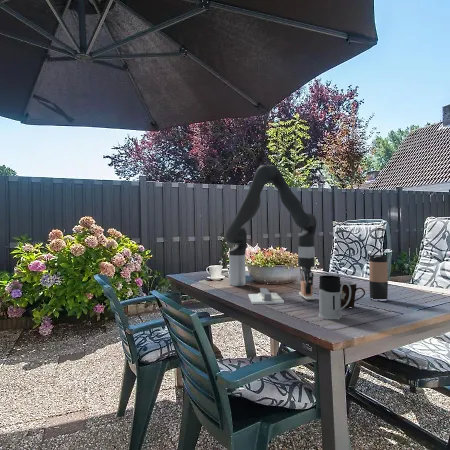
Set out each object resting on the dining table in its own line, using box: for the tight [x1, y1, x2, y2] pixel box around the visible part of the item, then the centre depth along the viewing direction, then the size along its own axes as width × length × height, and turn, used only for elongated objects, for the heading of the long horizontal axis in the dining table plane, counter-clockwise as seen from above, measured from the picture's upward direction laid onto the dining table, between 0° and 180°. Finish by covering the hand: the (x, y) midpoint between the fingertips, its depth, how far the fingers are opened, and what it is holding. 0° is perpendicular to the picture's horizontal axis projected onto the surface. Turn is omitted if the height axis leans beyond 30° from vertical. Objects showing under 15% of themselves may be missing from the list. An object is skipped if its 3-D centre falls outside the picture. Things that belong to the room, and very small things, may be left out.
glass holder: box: [317, 274, 351, 320], centre depth 124 cm, size 9×14×15 cm, turn 28°
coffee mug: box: [340, 280, 366, 309], centre depth 140 cm, size 12×9×10 cm
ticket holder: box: [247, 287, 285, 305], centre depth 155 cm, size 16×14×4 cm
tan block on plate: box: [298, 280, 316, 300], centre depth 156 cm, size 12×4×7 cm, turn 2°
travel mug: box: [368, 254, 389, 300], centre depth 152 cm, size 8×8×20 cm
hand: (306, 292), depth 156 cm, fingers closed on tan block on plate, 5 cm apart
